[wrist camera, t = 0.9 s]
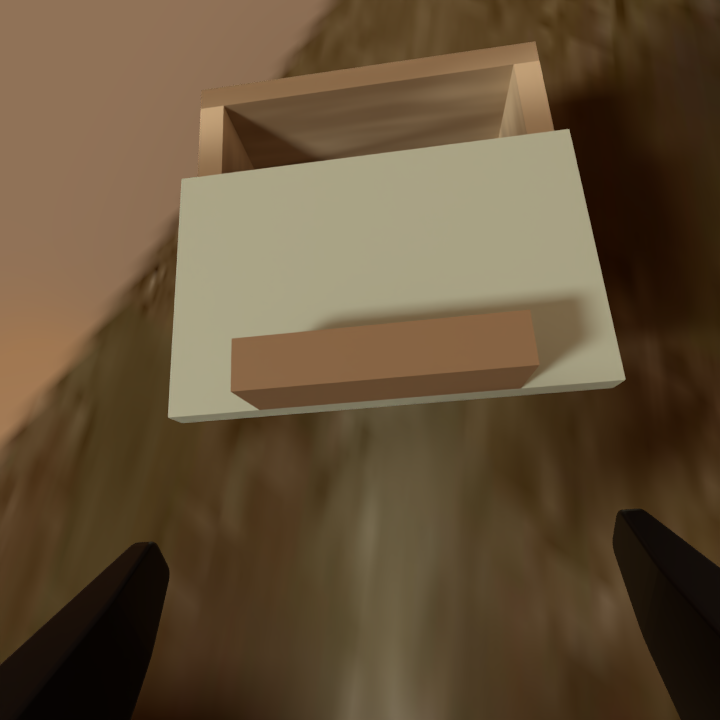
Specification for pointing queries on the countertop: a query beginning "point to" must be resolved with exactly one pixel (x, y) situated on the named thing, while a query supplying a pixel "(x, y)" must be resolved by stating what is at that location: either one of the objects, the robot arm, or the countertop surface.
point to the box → (374, 110)
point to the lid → (389, 282)
